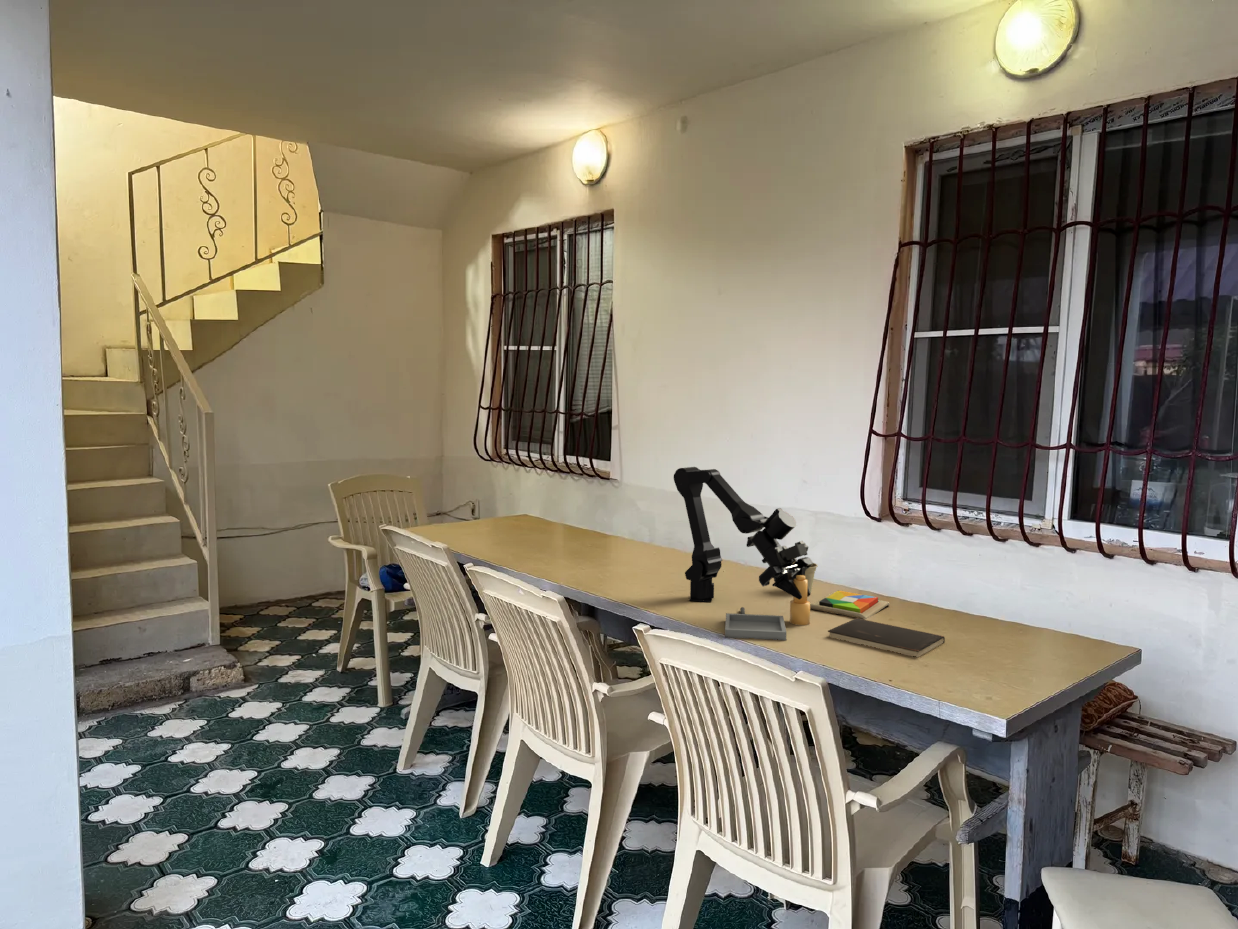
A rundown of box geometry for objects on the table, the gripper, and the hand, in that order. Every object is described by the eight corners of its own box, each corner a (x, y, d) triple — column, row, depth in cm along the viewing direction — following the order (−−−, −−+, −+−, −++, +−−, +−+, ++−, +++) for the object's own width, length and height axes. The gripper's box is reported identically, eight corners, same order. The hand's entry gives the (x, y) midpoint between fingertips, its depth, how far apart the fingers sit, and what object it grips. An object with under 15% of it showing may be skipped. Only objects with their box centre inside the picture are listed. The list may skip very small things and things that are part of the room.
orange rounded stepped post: (790, 624, 214) (791, 578, 213) (789, 619, 219) (789, 573, 218) (810, 625, 213) (811, 578, 212) (808, 620, 218) (809, 574, 217)
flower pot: (817, 596, 244) (818, 568, 243) (785, 594, 245) (786, 566, 245) (816, 589, 253) (817, 561, 252) (785, 587, 255) (786, 560, 254)
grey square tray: (725, 637, 203) (725, 629, 202) (725, 620, 217) (725, 613, 217) (786, 640, 200) (786, 632, 200) (782, 623, 215) (783, 615, 215)
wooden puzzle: (805, 610, 230) (805, 598, 230) (834, 597, 245) (834, 586, 244) (864, 622, 219) (864, 609, 219) (891, 607, 233) (891, 595, 233)
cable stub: (740, 620, 217) (740, 616, 217) (740, 610, 227) (740, 606, 227) (745, 621, 217) (745, 616, 217) (744, 610, 227) (744, 606, 227)
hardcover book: (917, 660, 188) (918, 650, 188) (827, 639, 203) (827, 630, 203) (944, 644, 199) (945, 635, 199) (857, 626, 215) (857, 617, 215)
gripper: (769, 536, 210) (805, 585, 203) (808, 528, 223) (843, 574, 217) (743, 561, 216) (777, 610, 210) (783, 552, 229) (816, 597, 223)
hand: (805, 597), depth 214 cm, fingers closed on orange rounded stepped post, 4 cm apart
